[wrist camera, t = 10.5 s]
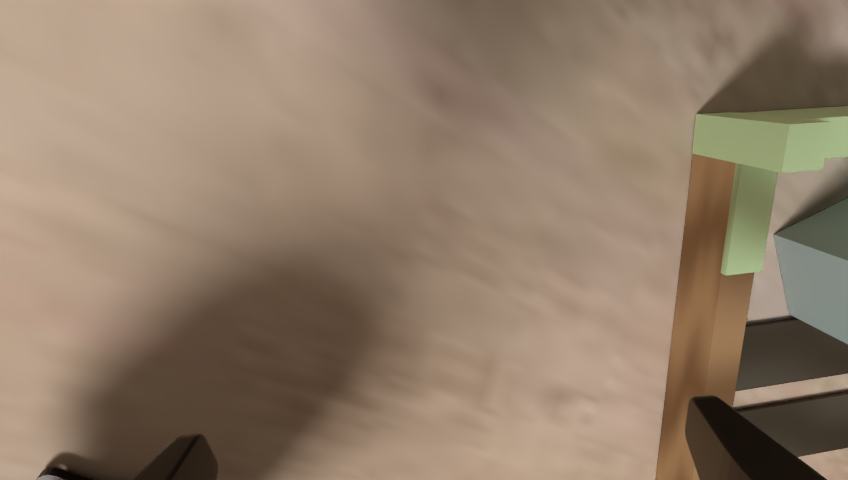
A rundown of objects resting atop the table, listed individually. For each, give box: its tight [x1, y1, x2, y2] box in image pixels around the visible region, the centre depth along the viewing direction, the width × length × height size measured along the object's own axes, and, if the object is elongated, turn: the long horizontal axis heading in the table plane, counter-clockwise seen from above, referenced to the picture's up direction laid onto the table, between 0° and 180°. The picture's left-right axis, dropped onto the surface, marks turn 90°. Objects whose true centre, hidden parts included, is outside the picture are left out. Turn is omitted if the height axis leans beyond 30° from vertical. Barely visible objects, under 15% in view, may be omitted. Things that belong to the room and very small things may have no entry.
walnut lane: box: [656, 154, 848, 480], centre depth 26 cm, size 23×15×3 cm, turn 2°
